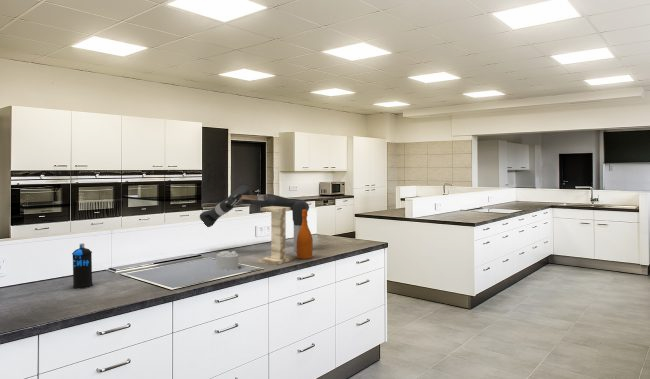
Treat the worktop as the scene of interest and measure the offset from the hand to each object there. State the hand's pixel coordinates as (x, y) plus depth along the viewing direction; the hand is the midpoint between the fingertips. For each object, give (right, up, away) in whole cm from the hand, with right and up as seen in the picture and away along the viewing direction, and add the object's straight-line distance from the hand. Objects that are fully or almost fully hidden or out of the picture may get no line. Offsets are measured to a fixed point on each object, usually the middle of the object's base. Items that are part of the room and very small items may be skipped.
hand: (242, 194), depth 274 cm
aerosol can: (-62, -42, -66) cm, 100 cm away
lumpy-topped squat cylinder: (-3, -40, -26) cm, 48 cm away
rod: (+6, -3, -3) cm, 7 cm away
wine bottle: (+38, -39, 0) cm, 55 cm away
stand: (+22, -39, -10) cm, 46 cm away
